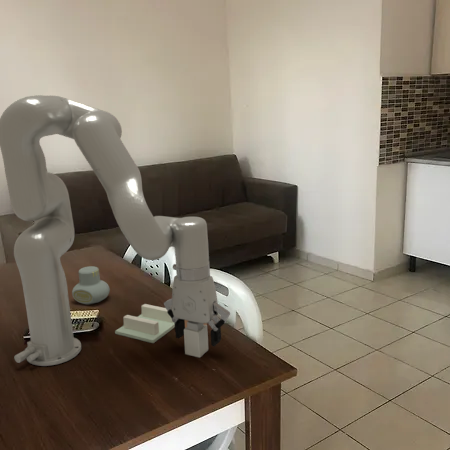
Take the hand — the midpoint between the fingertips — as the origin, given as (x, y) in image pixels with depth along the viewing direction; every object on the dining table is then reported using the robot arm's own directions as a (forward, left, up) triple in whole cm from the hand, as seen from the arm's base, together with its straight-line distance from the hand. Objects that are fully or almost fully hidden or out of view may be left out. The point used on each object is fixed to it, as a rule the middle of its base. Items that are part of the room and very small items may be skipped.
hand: (198, 339), depth 116 cm
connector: (0, 0, -3) cm, 3 cm away
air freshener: (+13, +45, -3) cm, 47 cm away
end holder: (+6, +18, -3) cm, 20 cm away
